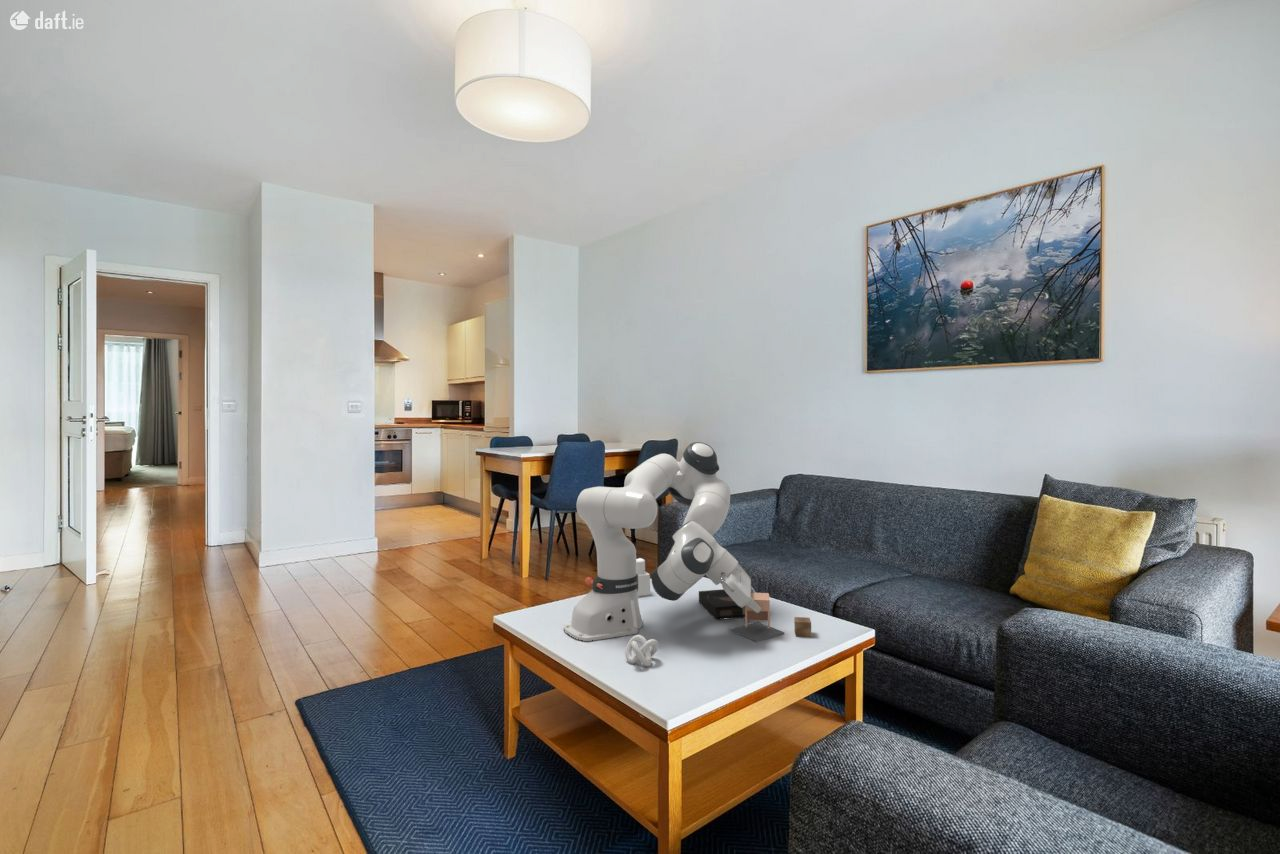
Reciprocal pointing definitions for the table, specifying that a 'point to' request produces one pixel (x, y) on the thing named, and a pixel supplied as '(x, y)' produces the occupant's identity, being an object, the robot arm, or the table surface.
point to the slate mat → (757, 631)
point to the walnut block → (802, 627)
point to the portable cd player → (720, 604)
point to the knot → (641, 650)
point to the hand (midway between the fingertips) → (759, 605)
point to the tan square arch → (765, 608)
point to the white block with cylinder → (642, 578)
